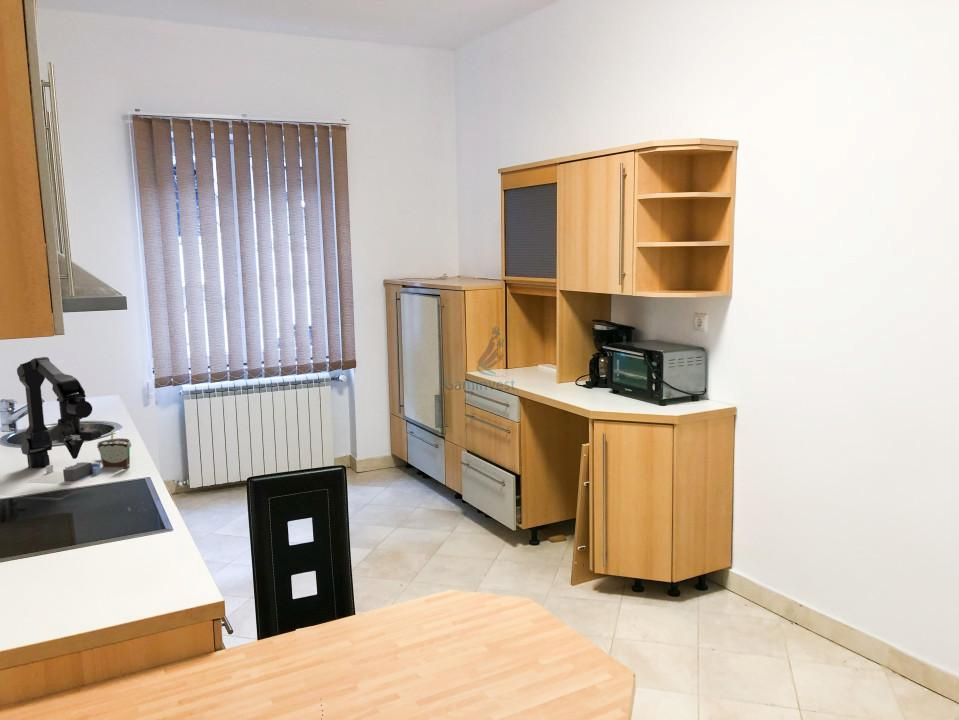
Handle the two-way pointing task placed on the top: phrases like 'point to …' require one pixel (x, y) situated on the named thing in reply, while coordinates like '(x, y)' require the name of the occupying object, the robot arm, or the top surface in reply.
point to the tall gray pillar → (77, 471)
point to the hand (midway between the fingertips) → (74, 458)
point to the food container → (115, 452)
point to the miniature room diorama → (59, 476)
